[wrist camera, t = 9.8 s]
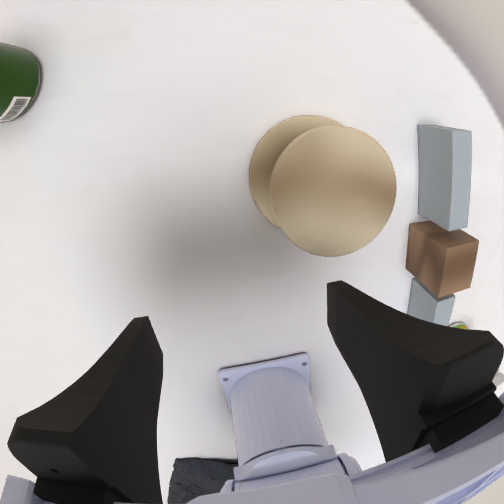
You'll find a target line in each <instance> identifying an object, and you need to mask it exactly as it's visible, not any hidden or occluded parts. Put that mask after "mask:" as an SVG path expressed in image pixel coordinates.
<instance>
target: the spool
mask: <svg viewBox="0 0 504 504" xmlns="http://www.w3.org/2000/svg"><path fill="white" fill-rule="evenodd" d="M249 182H250V188H251V193H252V195H253V198H254V200H255V202H256V204H257V206H258V208H259V210H260V211H261V212H262V214H263V215H264V216H265V218H266V219H267V220H268V221H269V222H271V223H272V224H273V225H274V226H276V227H277V228H279V229H281V230H282V231H283V232H284V234H285V235H286V237H287V238H288V239H289V240H290V241H291V242H292V243H294V244H295V245H296V246H297V247H299V248H300V249H302V250H304V251H306V252H308V253H311V254H314V255H318V256H325V257H335V256H342V255H346V254H349V253H352V252H354V251H357V250H359V249H360V248H362V247H364V246H365V245H367V244H368V243H370V242H371V241H372V240H373V239H374V238H375V237H376V236H377V235H378V234H379V233H380V232H381V230H382V229H383V227H384V226H385V224H386V223H387V221H388V219H389V217H390V215H391V212H392V210H393V206H394V203H395V197H396V177H395V172H394V168H393V165H392V162H391V160H390V158H389V156H388V154H387V153H386V151H385V150H384V148H383V147H382V146H381V145H380V144H379V143H378V142H377V141H376V140H375V139H374V138H373V137H371V136H370V135H368V134H367V133H365V132H363V131H360V130H358V129H355V128H351V127H345V126H343V125H342V124H340V123H339V122H337V121H334V120H332V119H329V118H326V117H321V116H298V117H294V118H290V119H287V120H285V121H283V122H281V123H279V124H277V125H276V126H274V127H273V128H272V129H271V130H269V131H268V132H267V133H266V134H265V135H264V137H263V138H262V139H261V140H260V142H259V143H258V145H257V147H256V149H255V151H254V153H253V156H252V159H251V163H250V168H249Z"/></svg>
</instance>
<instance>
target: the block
mask: <svg viewBox="0 0 504 504" xmlns="http://www.w3.org/2000/svg"><path fill="white" fill-rule="evenodd" d="M478 244H479V240H477V239H475V238H474V237H472V236H471V235H469V234H467V233H465V232H464V231H462V230H460V229H457V230H452V231H447V230H446V229H444V228H442V227H441V226H439V225H437V224H436V223H434V222H432V221H431V220H429V221H423V222H417V223H411V224H409V235H408V248H407V259H406V269H407V270H408V271H409V272H410V273H412V274H413V275H414V276H415V277H416V278H417V279H418V280H419V281H420V282H421V283H423V284H424V285H425V286H426V287H427V288H428V289H429V290H430V291H431V292H432V293H433V294H434V295H436V296H437V297H438V298H440V297H443V296H446V295H449V294H452V293H455V292H458V291H461V290H464V289H467V288H470V285H471V280H472V276H473V271H474V266H475V261H476V256H477V250H478Z"/></svg>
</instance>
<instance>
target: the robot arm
mask: <svg viewBox="0 0 504 504" xmlns="http://www.w3.org/2000/svg"><path fill="white" fill-rule="evenodd" d="M327 324H328V326H329V329H330V332H331V334H332V337H333V339H334V342H335V344H336V346H337V347H338V349H339V351H340V353H341V355H342V356H343V358H344V360H345V362H346V363H347V365H348V367H349V369H350V370H351V372H352V374H353V376H354V378H355V379H356V381H357V383H358V385H359V387H360V389H361V391H362V394H363V396H364V398H365V401H366V403H367V406H368V408H369V411H370V414H371V417H372V419H373V422H374V425H375V428H376V431H377V434H378V437H379V440H380V443H381V446H382V450H383V453H384V457H385V461H386V463H383V464H381V465H378V466H375V467H373V468H370V469H367V470H364V471H362V470H361V468H360V466H359V464H358V462H357V461H356V460H355V459H354V458H353V457H351V456H348V455H347V454H346V453H342V454H339V455H336V452H335V449H334V447H333V445H328V443H327V440H326V437H325V434H324V431H323V429H322V426H321V423H320V420H319V417H318V415H317V412H316V409H315V406H314V403H313V401H312V398H311V395H310V359H309V356H308V354H305V353H304V354H299V355H294V356H290V357H285V358H281V359H276V360H271V361H266V362H261V363H256V364H250V365H245V366H239V367H233V368H227V369H222V370H220V371H219V379H220V382H221V385H222V388H223V391H224V394H225V397H226V400H227V403H228V406H229V409H230V412H231V415H232V418H233V424H234V433H235V441H236V449H237V456H238V464H239V466H238V467H234V477H235V479H232V480H227V481H226V482H225V485H224V486H223V488H222V489H221V491H220V493H214V494H208V495H203V496H199V497H197V498H195V499H193V500H191V501H189V502H188V503H187V504H463V503H464V502H466V501H467V500H469V499H470V498H472V497H473V496H475V495H476V494H478V493H479V492H481V491H482V490H483V489H485V488H486V487H488V486H489V485H491V484H492V483H493V482H494V481H496V480H497V479H499V478H500V477H501V476H503V475H504V392H503V393H502V394H501V395H500V396H499V398H498V397H497V396H496V394H495V393H494V392H495V391H496V389H497V388H496V386H495V385H494V383H493V382H492V381H493V379H494V376H495V374H496V372H497V370H498V368H499V366H500V364H501V361H502V359H503V354H504V348H503V345H502V344H501V343H500V342H499V341H498V340H497V339H496V338H495V337H494V336H493V335H492V334H491V333H490V332H489V331H482V330H469V329H461V328H455V327H449V326H444V325H440V324H436V323H432V322H428V321H425V320H422V319H419V318H416V317H413V316H410V315H408V314H405V313H403V312H400V311H398V310H396V309H394V308H392V307H389V306H387V305H385V304H383V303H381V302H379V301H377V300H376V299H374V298H372V297H370V296H368V295H367V294H365V293H363V292H361V291H360V290H358V289H356V288H354V287H353V286H351V285H349V284H347V283H345V282H344V281H342V280H340V281H336V282H331V283H327ZM303 362H305V363H303ZM162 379H163V353H162V350H161V348H160V345H159V343H158V340H157V338H156V335H155V333H154V330H153V328H152V325H151V323H150V320H149V317H148V316H145V317H139V318H134V319H133V320H132V321H131V322H130V323H129V324H128V326H127V327H126V328H125V329H124V330H123V332H122V333H121V334H120V335H119V337H118V338H117V339H116V340H115V341H114V342H113V344H112V345H111V346H110V347H109V348H108V350H107V351H106V352H105V353H104V354H103V355H102V356H101V357H100V358H99V360H98V361H97V362H96V363H95V364H94V365H93V366H92V367H91V368H90V369H89V370H88V371H87V372H86V373H85V374H84V375H83V376H81V377H80V378H79V379H78V380H77V381H76V382H74V383H73V384H72V385H71V386H69V387H68V388H67V389H65V390H64V391H63V392H62V393H60V394H59V395H57V396H56V397H54V398H53V399H51V400H50V401H48V402H46V403H45V404H43V405H41V406H40V407H38V408H36V409H34V410H32V411H30V412H28V413H26V414H24V415H22V416H20V417H17V419H16V422H15V424H14V427H13V430H12V432H11V435H10V437H9V440H8V443H7V444H8V448H9V450H10V451H11V453H12V454H13V456H14V457H15V458H16V459H17V460H18V461H19V462H21V463H22V464H23V465H24V466H25V467H26V468H27V469H29V470H30V471H31V472H32V473H33V474H35V475H36V476H37V480H36V483H34V482H32V481H30V480H27V479H23V478H20V477H16V476H12V475H8V476H7V479H6V482H5V486H4V489H3V493H2V497H1V500H0V504H163V502H162V495H161V489H160V481H159V471H158V457H157V417H158V409H159V401H160V394H161V386H162Z"/></svg>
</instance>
